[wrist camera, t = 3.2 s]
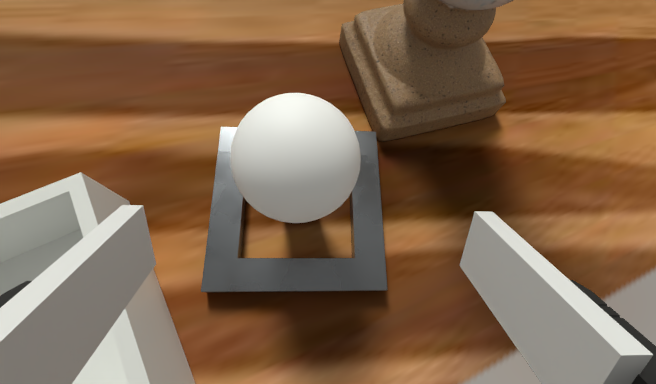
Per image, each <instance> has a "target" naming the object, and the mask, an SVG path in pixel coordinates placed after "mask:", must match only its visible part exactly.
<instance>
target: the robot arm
mask: <svg viewBox="0 0 656 384" xmlns="http://www.w3.org/2000/svg"><path fill="white" fill-rule="evenodd" d="M155 265H156V261H155V257H154V252H153V248H152V243H151V239H150V234H149V230H148V225H147V221H146V216H145V212H144V207H143V205H122V206H120V207H119V208H118V209H117V210H116V211H115V212H113V213H112V214H111V215H110V216H109V217H107V218H106V219H105V220H104V221H103V222H102V223H100V224H99V225H98V226H97V227H96V228H94V229H93V230H92V231H91V232H90V233H88V234H87V235H86V236H85V237H84V238H83V239H81V240H80V241H79V242H78V243H77V244H75V245H74V246H73V247H72V248H71V249H70V250H68V251H67V252H66V253H65V254H64V255H62V256H61V257H60V258H59V259H58V260H57V261H55V262H54V263H53V264H52V265H51V266H49V267H48V268H47V269H46V270H45V271H44V272H42V273H41V274H40V275H39V276H38V277H36V278H35V279H34V280H33V281H25V282H24V283H22V284H20V285H18V286H16V287H14V288H12V289H11V290H9V291H7V292H5V293H3V294H2V295H1V296H0V384H72V383H73V382H74V380H75V379H76V377H77V376H78V375H79V373H80V372H81V370H82V369H83V367H84V366H85V365H86V363H87V362H88V360H89V359H90V357H91V356H92V355H93V353H94V352H95V350H96V349H97V348H98V346H99V345H100V343H101V342H102V340H103V339H104V338H105V336H106V335H107V333H108V332H109V330H110V329H111V328H112V326H113V325H114V323H115V322H116V320H117V319H118V318H119V316H120V315H121V313H122V312H123V311H124V309H125V308H126V306H127V305H128V303H129V302H130V301H131V299H132V298H133V296H134V295H135V293H136V292H137V291H138V289H139V288H140V286H141V285H142V284H143V282H144V281H145V279H146V278H147V276H148V275H149V274H150V272H151V271H152V269H153V268H154V266H155ZM460 267H461V268H462V270H463V271H464V273H465V274H466V276H467V277H468V278H469V280H470V281H471V283H472V284H473V286H474V287H475V288H476V290H477V291H478V293H479V294H480V296H481V297H482V299H483V300H484V301H485V303H486V304H487V306H488V307H489V309H490V310H491V312H492V313H493V314H494V316H495V317H496V319H497V320H498V322H499V323H500V324H501V326H502V327H503V329H504V330H505V332H506V333H507V335H508V336H509V337H510V339H511V340H512V342H513V343H514V345H515V346H516V347H517V349H518V350H519V352H520V353H521V355H522V356H523V357H524V359H525V360H526V362H527V363H528V365H529V366H530V368H531V369H532V370H533V372H534V373H535V375H536V376H537V378H538V379H539V380H540V382H541V383H542V384H656V346H655V345H654V344H652V343H651V342H650V341H649V340H648V339H647V338H645V337H644V336H643V335H642V334H641V333H640V332H638V331H637V330H636V329H635V328H634V327H633V326H631V325H630V324H629V323H628V322H627V321H625V319H623V318H620V316H619V315H618V313H616V312H615V311H614V310H613V309H612V308H610V307H607V304H606V303H605V302H604V301H602V300H601V299H600V298H599V297H598V296H597V295H595V294H594V293H593V292H592V291H590V290H589V289H587V288H585V287H584V286H582V285H580V284H578V283H577V282H575V281H573V280H569V279H568V278H567V277H565V276H564V275H563V274H562V273H561V272H560V271H559V270H558V269H556V268H555V267H554V266H553V265H552V264H551V263H550V262H549V261H547V260H546V259H545V258H544V257H543V256H542V255H541V254H540V253H538V252H537V251H536V250H535V249H534V248H533V247H532V246H531V245H529V244H528V243H527V242H526V241H525V240H524V239H523V238H522V237H520V236H519V235H518V234H517V233H516V232H515V231H514V230H513V229H511V228H510V227H509V226H508V225H507V224H506V223H505V222H504V221H502V220H501V219H500V218H499V217H498V216H497V215H496V214H495V213H493V212H485V211H475V212H474V215H473V219H472V223H471V226H470V230H469V233H468V237H467V241H466V244H465V248H464V251H463V255H462V258H461V262H460Z"/></svg>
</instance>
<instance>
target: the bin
mask: <svg viewBox="0 0 656 384" xmlns="http://www.w3.org/2000/svg"><path fill="white" fill-rule="evenodd" d="M122 205H130V203H129V201H128V200H126V199H124V198H123V197H121V196H119V195H118V194H116V193H114V192H113V191H111V190H109V189H108V188H106V187H104V186H103V185H101V184H99V183H98V182H96V181H94V180H93V179H91V178H89V177H88V176H86V175H84V174H83V173H78V174H75V175H73V176H70V177H68V178H65V179H63V180H60V181H58V182H55V183H52V184H50V185H47V186H45V187H42V188H40V189H37V190H35V191H32V192H29V193H27V194H24V195H22V196H19V197H17V198H14V199H11V200H9V201H6V202H4V203H1V204H0V296H1V295H2V294H3V293H5V292H7V291H9V290H11V289H12V288H14V287H16V286H18V285H20V284H22V283H24V282H25V281H33V280H34V279H35V278H36V277H38V276H39V275H40V274H41V273H42V272H44V271H45V270H46V269H47V268H48V267H49V266H51V265H52V264H53V263H54V262H55V261H57V260H58V259H59V258H60V257H61V256H62V255H64V254H65V253H66V252H67V251H68V250H70V249H71V248H72V247H73V246H74V245H75V244H77V243H78V242H79V241H80V240H81V239H83V238H84V237H85V236H86V235H87V234H88V233H90V232H91V231H92V230H93V229H94V228H96V227H97V226H98V225H99V224H100V223H102V222H103V221H104V220H105V219H106V218H107V217H109V216H110V215H111V214H112V213H113V212H115V211H116V210H117V209H118V208H119V207H120V206H122ZM72 384H195V381H194V378H193V376H192V373H191V370H190V367H189V365H188V362H187V359H186V356H185V354H184V351H183V348H182V345H181V343H180V340H179V337H178V335H177V332H176V329H175V326H174V324H173V321H172V318H171V315H170V313H169V310H168V307H167V304H166V302H165V299H164V296H163V293H162V291H161V288H160V285H159V282H158V280H157V277H156V274H155V271H154V269H152V271H151V272H150V274H149V275H148V276H147V278H146V279H145V281H144V282H143V284H142V285H141V286H140V288H139V289H138V291H137V292H136V293H135V295H134V296H133V298H132V299H131V301H130V302H129V303H128V305H127V306H126V308H125V309H124V311H123V312H122V313H121V315H120V316H119V318H118V319H117V320H116V322H115V323H114V325H113V326H112V328H111V329H110V330H109V332H108V333H107V335H106V336H105V338H104V339H103V340H102V342H101V343H100V345H99V346H98V348H97V349H96V350H95V352H94V353H93V355H92V356H91V357H90V359H89V360H88V362H87V363H86V365H85V366H84V367H83V369H82V370H81V372H80V373H79V375H78V376H77V377H76V379H75V380H74V382H73V383H72Z"/></svg>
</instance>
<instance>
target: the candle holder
mask: <svg viewBox="0 0 656 384" xmlns="http://www.w3.org/2000/svg"><path fill="white" fill-rule="evenodd" d="M511 1H513V0H404V3H403V4H399V5H394V6H389V7H383V8H377V9H372V10H368V11H364V12H361V13H359V14H358V15H356V16H355V19H354V21H352V22H347V23H344V24H342V27H341V34H340V40H339V44H340V47H341V50H342V54H343V57H344V59H345V62H346V64H347V67H348V69H349V72H350V75H351V77H352V80H353V82H354V85H355V87H356V90H357V93H358V95H359V98H360V100H361V103H362V105H363V108H364V111H365V113H366V116H367V118H368V121H369V123H370V126H371V128H372V130H373V132H376V138H377V139H378V141H382V142H384V141H390V140H395V139H401V138H405V137H409V136H414V135H418V134H422V133H426V132H431V131H435V130H439V129H443V128H448V127H452V126H456V125H460V124H465V123H469V122H473V121H477V120H481V119H484V118H487V117H491V116H492V115H494V114H495V113H496V112H497V111H498V110H499V109H500V108H501V107H502V106H503V105H504V104H505V103H506V100H505V97H504V95H503V93H502V91H501V89H502V88H503V86H504V82H503V77H502V75H501V72H500V70H499V68H498V66H497V64H496V62H495V60H494V58H493V57H492V55H491V53H490V51H489V49H488V47H487V46H486V44H485V42H484V40H483V38H482V37H483V36H484V35H485V34H486V33H487V31H488V30H489V28H490V27H491V25H492V23H493V20H494V17H495V12H496V8H497V7H500V6H502V5H505V4H507V3H509V2H511Z"/></svg>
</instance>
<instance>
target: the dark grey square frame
mask: <svg viewBox="0 0 656 384" xmlns="http://www.w3.org/2000/svg"><path fill="white" fill-rule="evenodd" d="M237 128H238V127H221V132H220V140H219V148H218V156H217V164H216V173H215V181H214V189H213V197H212V205H211V214H210V222H209V230H208V238H207V246H206V255H205V263H204V271H203V279H202V287H201V292H324V291H386V290H387V278H386V264H385V250H384V236H383V223H382V209H381V195H380V181H379V167H378V154H377V140H376V132H369V131H355V134H356V137H357V139H358V142H359V147H360V155H361V162H360V172H359V175H358V179H357V182H356V184H355V186H354V188H353V190H352V192H351V194H350V216H351V243H352V258H241V255H242V243H243V231H244V219H245V207H246V199H245V198H244V197H243V195H242V194H241V193H240V191H239V189H238V187H237V185H236V183H235V180H234V178H233V175H232V170H231V161H230V158H231V145H232V141H233V138H234V135H235V132H236V130H237Z"/></svg>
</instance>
